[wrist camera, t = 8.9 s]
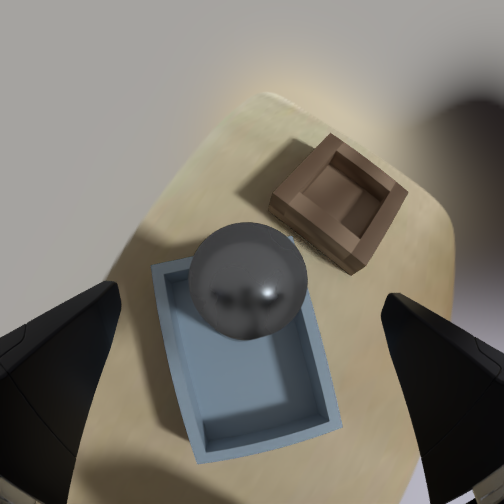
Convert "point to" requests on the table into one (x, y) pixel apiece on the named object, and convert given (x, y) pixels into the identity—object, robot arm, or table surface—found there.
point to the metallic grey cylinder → (247, 281)
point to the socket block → (339, 203)
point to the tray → (243, 377)
